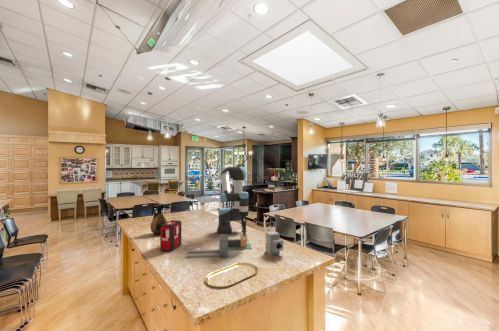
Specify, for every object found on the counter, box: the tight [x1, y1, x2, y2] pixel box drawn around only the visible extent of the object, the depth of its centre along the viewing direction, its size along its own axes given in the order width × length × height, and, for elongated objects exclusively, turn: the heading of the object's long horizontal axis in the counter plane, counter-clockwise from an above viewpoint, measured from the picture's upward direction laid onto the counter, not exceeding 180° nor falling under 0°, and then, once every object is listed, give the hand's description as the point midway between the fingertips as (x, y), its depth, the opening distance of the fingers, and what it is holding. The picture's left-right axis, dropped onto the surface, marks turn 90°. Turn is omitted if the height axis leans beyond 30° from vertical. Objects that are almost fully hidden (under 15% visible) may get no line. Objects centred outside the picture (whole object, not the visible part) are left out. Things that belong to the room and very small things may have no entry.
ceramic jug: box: [149, 202, 168, 236], centre depth 219 cm, size 17×15×30 cm
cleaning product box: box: [159, 220, 182, 253], centre depth 183 cm, size 16×9×20 cm, turn 170°
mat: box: [228, 242, 253, 251], centre depth 186 cm, size 12×20×1 cm, turn 96°
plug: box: [228, 232, 250, 247], centre depth 186 cm, size 5×20×10 cm, turn 96°
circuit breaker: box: [264, 230, 284, 256], centre depth 171 cm, size 8×14×15 cm, turn 27°
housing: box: [185, 234, 229, 259], centre depth 170 cm, size 15×30×12 cm, turn 96°
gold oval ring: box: [204, 262, 259, 289], centre depth 138 cm, size 19×35×2 cm, turn 133°
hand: (243, 236), depth 187 cm, fingers open, 13 cm apart
